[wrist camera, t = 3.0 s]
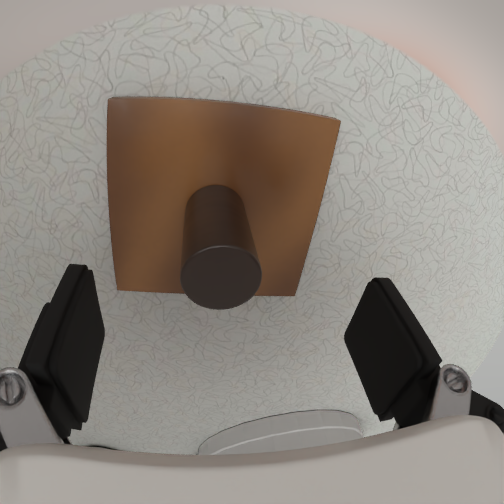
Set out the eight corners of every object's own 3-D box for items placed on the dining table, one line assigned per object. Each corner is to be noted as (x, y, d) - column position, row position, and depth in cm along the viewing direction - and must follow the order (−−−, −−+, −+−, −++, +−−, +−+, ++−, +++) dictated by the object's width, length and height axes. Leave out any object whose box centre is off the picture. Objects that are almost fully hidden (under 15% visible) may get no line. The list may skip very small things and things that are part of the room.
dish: (390, 404, 35) (403, 435, 31) (312, 466, 46) (318, 490, 42) (221, 408, 28) (226, 453, 24) (184, 470, 39) (186, 498, 35)
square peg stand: (119, 282, 19) (99, 363, 13) (112, 96, 13) (58, 122, 8) (292, 288, 21) (319, 365, 16) (335, 117, 15) (401, 154, 10)
